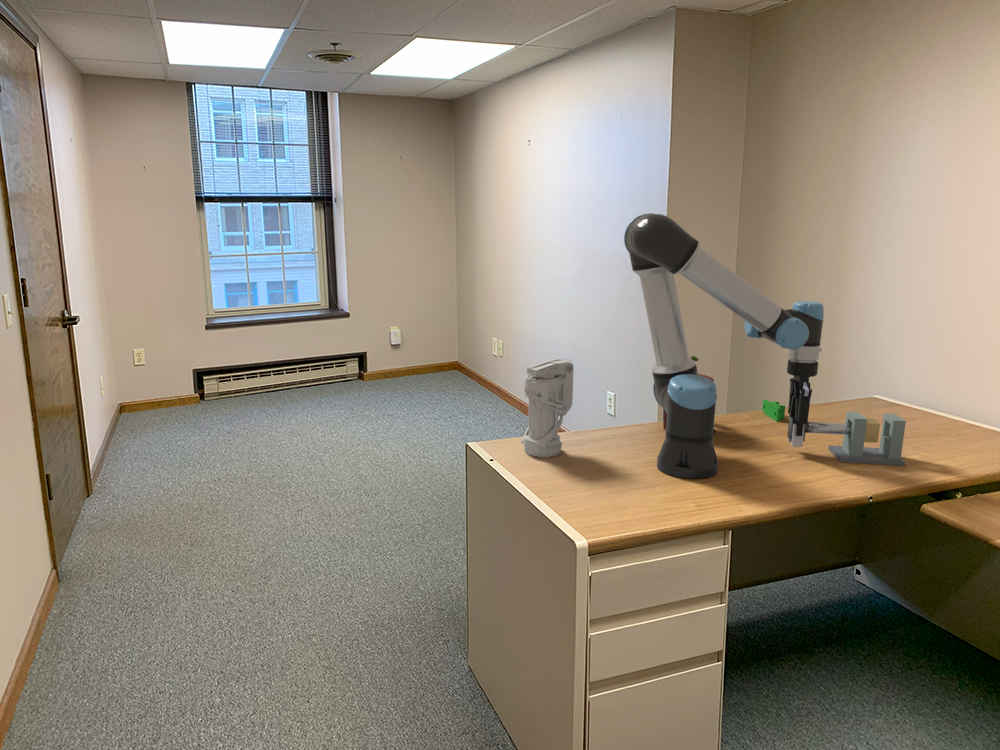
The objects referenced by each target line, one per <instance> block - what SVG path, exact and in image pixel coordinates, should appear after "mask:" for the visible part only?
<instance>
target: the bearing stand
mask: <svg viewBox="0 0 1000 750" xmlns="http://www.w3.org/2000/svg"><path fill="white" fill-rule="evenodd" d="M882 416H883V418H882V425H881V432H880V439H879V447H865V442H864V440H865V432H866V424H867V419H866V418H867V417H866V416H864V415H863V414H862V413H860V412H859V411H846V414H845V421H844V424H852V429H851V435H843V440H842V445H831V444H830V445H829V444H828V450H829V452H831V453H832V455H833V456H834V457H835V458H836V459H837V460H838V462H840V463H850V464H851V463H852V464H867V465H868V464H869V465H870V464H871V465H883V466H884V465H887V466H888V465H889V466H906V461H905V460H904V459H903V458H902V453H903V452H902V450H903V444H904V436H905V431H906V430H905V429H906V422H907V421H906V420H905V419H904V418H902V417H901V416H899V415H898V414H897V413H889V412H888V413H883V415H882Z"/></svg>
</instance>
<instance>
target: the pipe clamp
mask: <svg viewBox="0 0 1000 750" xmlns="http://www.w3.org/2000/svg"><path fill="white" fill-rule="evenodd" d="M762 411H765V412H762ZM761 412H762V413H763V414H764V413H765V414H764V415H766V416H767V417H769V418H771V419H772V420H774V421H775V422H777V423H780V422H781V420H785V412H786V405H784V404H783V405H782V404H780V402H779V401H770V400H769V399H767V398H765V399H763V400H762V410H761Z"/></svg>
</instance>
